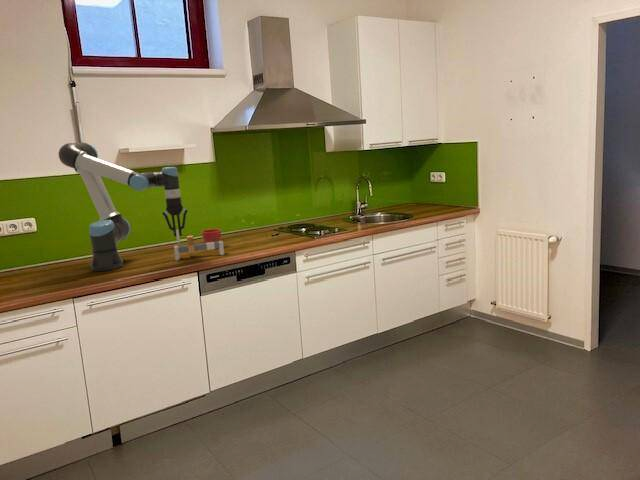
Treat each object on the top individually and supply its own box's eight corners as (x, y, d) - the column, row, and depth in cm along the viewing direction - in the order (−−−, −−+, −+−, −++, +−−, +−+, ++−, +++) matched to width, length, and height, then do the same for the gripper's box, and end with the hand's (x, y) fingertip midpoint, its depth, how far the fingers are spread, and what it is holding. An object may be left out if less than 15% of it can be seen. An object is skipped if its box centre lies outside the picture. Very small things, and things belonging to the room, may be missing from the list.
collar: (189, 256, 276) (187, 238, 274) (188, 253, 283) (186, 235, 281) (195, 255, 277) (192, 237, 275) (194, 252, 284) (192, 235, 282)
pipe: (175, 260, 276) (174, 247, 274) (175, 258, 281) (174, 245, 280) (224, 254, 281) (223, 242, 280) (223, 252, 287) (222, 240, 286)
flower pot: (211, 244, 310) (210, 228, 309) (226, 245, 305) (224, 229, 303) (199, 248, 302) (197, 231, 300) (213, 249, 296) (212, 232, 294)
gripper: (159, 199, 267) (165, 245, 272) (186, 196, 271) (191, 242, 275) (160, 197, 275) (166, 242, 279) (186, 195, 278) (191, 239, 282)
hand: (178, 242), depth 277 cm, fingers closed
